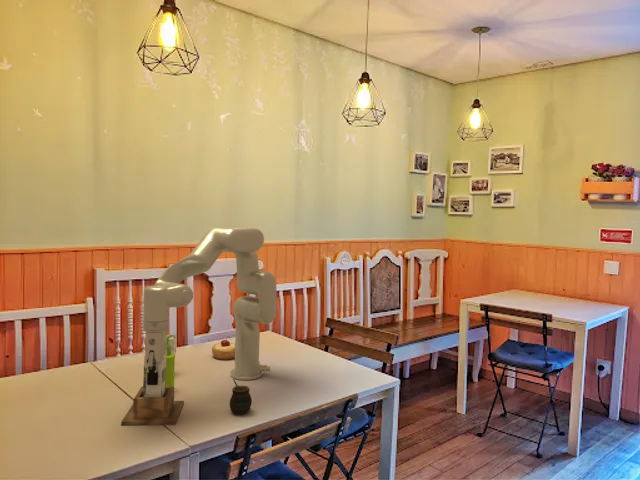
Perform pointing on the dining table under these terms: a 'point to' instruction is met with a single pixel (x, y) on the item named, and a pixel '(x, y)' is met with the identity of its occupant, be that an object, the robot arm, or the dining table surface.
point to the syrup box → (160, 387)
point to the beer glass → (173, 345)
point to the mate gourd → (240, 399)
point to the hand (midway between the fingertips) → (154, 380)
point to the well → (154, 409)
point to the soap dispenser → (169, 363)
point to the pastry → (224, 350)
